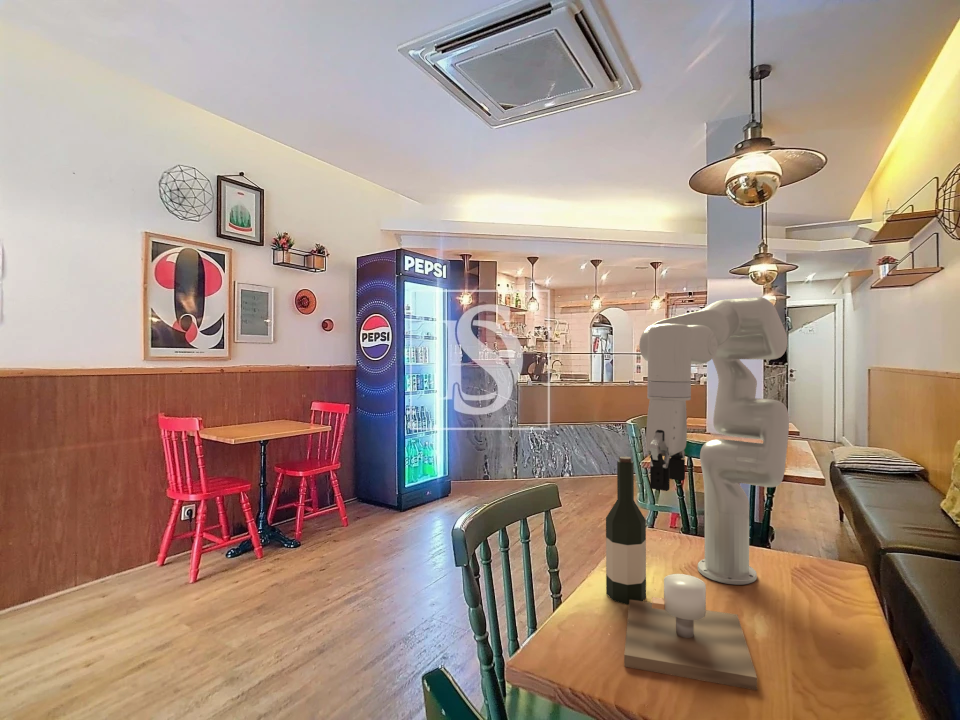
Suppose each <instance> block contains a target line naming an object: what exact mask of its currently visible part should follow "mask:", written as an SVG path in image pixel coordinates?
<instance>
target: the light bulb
mask: <svg viewBox="0 0 960 720" xmlns="http://www.w3.org/2000/svg"><path fill="white" fill-rule="evenodd" d="M706 585H707V584H706V582H705V581H703V580H702V579H700V578H699V577H697V576H694V575H690V574H683V573H672V574H668V575H666V576H665V577H664V578H663V598H661V597H654V596H651V603H652V608H655V609H662V610H666V611H667V612H668V613H669V614H671V615H672V616H675V617H677V618H681V619H686V620H698V619H701V618H703V617H704V616H705V615H706V610H707V608H706V607H707V605H706V604H707V598H706V596H707V595H706V594H707V593H706V592H707V590H706V589H707V588H706V587H707V586H706Z"/></svg>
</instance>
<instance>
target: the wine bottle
mask: <svg viewBox="0 0 960 720" xmlns="http://www.w3.org/2000/svg"><path fill="white" fill-rule="evenodd" d="M616 465H617V466H616V467H617V468H616V470H617V471H616V473H617V475H616V477H617V478H616V483H617V484H616V487H617V490H616V491H617V495H616V496H617V500H616V501H615V502H614V504H613V506H612V507H611V509H610V511H609V512H608V514H607V516H606V517H605V559H606V560H605V561H606V562H605V579H606V580H605V586H606V589H605V591H606V592H605V593H606V595H607V596H608V597H609V598H610V599H611V600H612V601H613V602H617V603H621V604H625V605H628V606H629V600H637V601H645V599H646V597H647V526H646V524H647V519H646V518H645V517H644V514H643V512H642V511H641V509H640V508H639V506H638V505H637V503H636V502H635V499H634V496H635V495H634V494H635V493H634V490H635V488H634V487H635V485H634V483H635V482H634V481H635V478H634V474H635V472H634V470H635V468H634V467H635V465H634V461H633V460H632V457H630V456H620V457H619V458H618V460H617V464H616Z"/></svg>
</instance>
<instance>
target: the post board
mask: <svg viewBox="0 0 960 720" xmlns="http://www.w3.org/2000/svg"><path fill="white" fill-rule="evenodd" d="M626 623H627V624H626V632H625V633H626V634H625V643H624V654H623V655H624V657H623V658H624V659H623V662H624V663H623V665H624V666H623V667H626V668H629V669H630V668H632V669H637V670H641V671H642V670H643V671H646V672H647V671H648V672H653V673H660V674H665V675H669V676H674V677H681V678H685V679H686V678H687V679H693V680H696V681H697V680H698V681H704V682H709V683H714V684H720V685H726V686H732V687H738V688H743V689H747V690H748V689H749V690H754V691H757V690H758V677H757V672H756V669H755V667H754V663H753V661H752V657H751V654H750V650H749V647H748V644H747V641H746V638H745V635H744V631H743V629H742V628H743V627H742V624H741V621H740V618H739V615H738V614H736V613H731V612H730V613H729V612H722V611H714V610H708V609H706V615H705V616H704V617H703V618H701V619H698V620H686V619H681V618H677V617H675V616H672V615H671V614H669V613H668V612H667V611H666V610H662V609H655V608H652V601H650V602H649V601H645V600H643V601H637V600H629V604H628V613H627V622H626Z"/></svg>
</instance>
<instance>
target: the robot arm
mask: <svg viewBox="0 0 960 720" xmlns="http://www.w3.org/2000/svg"><path fill="white" fill-rule="evenodd" d="M638 345H639V351H640V352H639V353H640V355H641V356H642V358H643V359H644V360H645V361H647V387H646V388H647V390H646V391H647V396H646V397H647V398H646V399H648V400H649V401H648V402H649V403H648V410H647V415H646V417H647V419H646V433H645V434H646V435H645V436H646V437H645V451H646V452H647V454H650V455H649V458H650V462H649V466H650V468H649V469H650V470H649V471H650V476H649V477H650V482H649V483H650V484H649V487H650V489H652V490H657V491H663V492H667V491H669V490H670V481H671V480H675V481H684V480H685V478H686V475H685V474H686V473H685V472H686V468H685V467H686V459H685V458H686V452H685V449H686V448H687V442H688V439H687V438H688V431H687V429H688V424H687V423H688V421H687V418H688V417H687V401H692V397H691V396H692V365H701V364H706V363H708V362H710V361H711V360H712V363H713V364H714V367H715V370H716V372H717V373H716V374H717V379H718V384H717V390H716V391H717V392H716V398H715V405H714V411H713V428H714V430H715V431H716V432H717V433H718V434H719V435H723V436H726V437H727V436H728V437H732V438H733V437H736V438H744V439H752V440H761V441H762V443H761V442H751V441H744V440H736V439H725V438H724V439H721V438H718V439H711V440H707V441H706V442H705V443H704V444H703V445H702V446H701V448H700V453H699V459H700V460H699V461H700V465H701V466H700V468H701V472H702V478H703V489H704V491H703V492H704V558H703V559H701V560H700V561H699V562H698V563H697V571H698V572H699V573H700V574H701V575H702V576H703V577H706V578H707V579H709V580H712V581H715V582H717V583H722V584H728V585H737V586H739V585H740V586H742V585H749V584H752V583H754V582H756V580H757V577H758V574H757V571H756V570H755V569H754V568H753V567H752V566H750V502H749V498H748V496H747V493H746V492H745V490H744V489H743V488H742V487H741V485H740V484H744V485H745V484H746V485H752V486H756V487H757V486H758V487H766V488H775V487H778V486H779V485H781V484H782V482H783V480H784V476H785V470H786V462H787V461H786V460H787V449H788V440H789V431H790V430H789V429H790V416H789V412H788V408H787V407H786V405H785V404H784V403H783V402H782V401H780V400H778V399H777V400H776V399H772V398H757V397H756V396H757V395H756V394H757V393H756V392H757V387H758V381H757V378H756V377H755V375H754V374H753V372H752V371H751V369H749V368H748V367H747V366H746V365H745V364H744V363H743V361H741V360H768V361H769V360H777V359H779V358H781V357H782V356H783V355H784V354H785V352H786V350H787V347H788V336H787V333H786V329H785V327H784V325H783V323H782V319H781V318H780V316H779V313H778V310H777V309H776V307H775V305H774V304H773V303H772V302H771V301H770V300H768V299H767V298H765V297H759V296H756V297H745V298H744V297H743V298H741V297H740V298H729V299H728V298H726V299H721V300H717V301H714V302H712V303H711V304H709V305H707V306H705V307H704V308H702V309H700V310H696V311H692V312H687V313H685V314H681V315H678V316H673V317H669V318H665V319H661V320H658V321H656V322H654V323H651V325H649V326H648V327H646V328H645V329H644V331H643V332H642V334H641V335H640V338H639V343H638Z"/></svg>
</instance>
